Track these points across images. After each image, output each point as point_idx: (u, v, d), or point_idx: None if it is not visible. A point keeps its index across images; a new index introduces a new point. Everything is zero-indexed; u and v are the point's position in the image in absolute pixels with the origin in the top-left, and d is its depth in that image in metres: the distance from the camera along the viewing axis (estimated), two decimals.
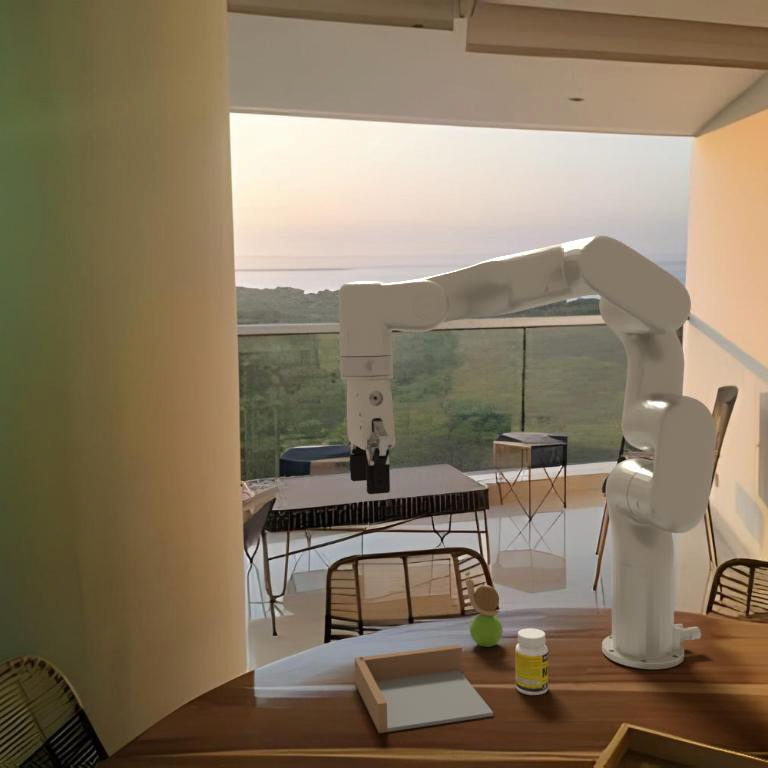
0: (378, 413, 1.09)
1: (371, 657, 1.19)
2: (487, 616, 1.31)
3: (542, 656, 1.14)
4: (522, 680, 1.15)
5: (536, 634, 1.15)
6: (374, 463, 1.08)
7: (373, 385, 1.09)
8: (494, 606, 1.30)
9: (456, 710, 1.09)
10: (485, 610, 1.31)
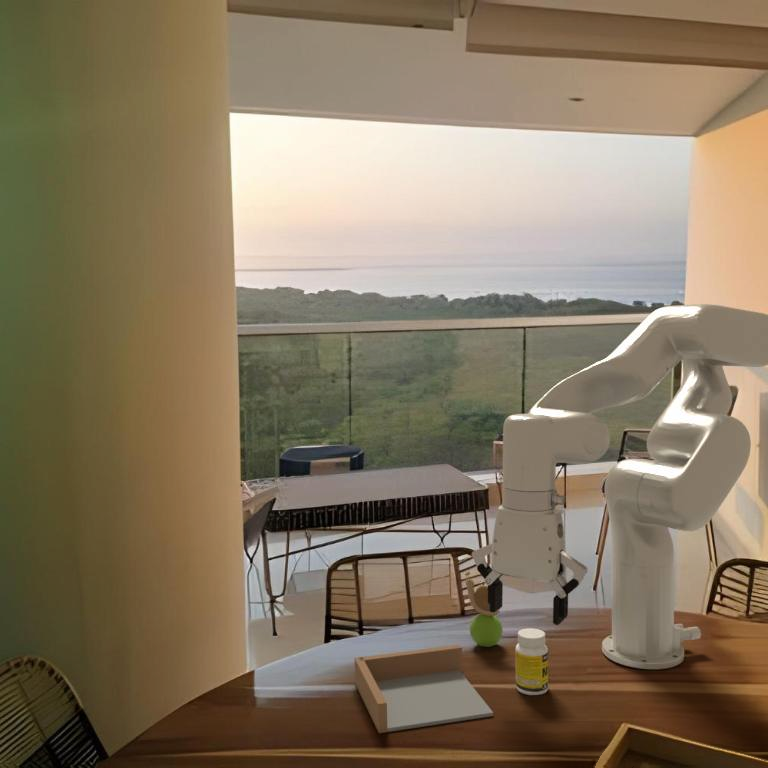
0: (561, 544, 1.12)
1: (371, 657, 1.19)
2: (487, 616, 1.31)
3: (542, 656, 1.14)
4: (522, 680, 1.15)
5: (536, 634, 1.15)
6: (566, 594, 1.11)
7: (557, 518, 1.12)
8: None
9: (456, 710, 1.09)
10: (485, 610, 1.31)
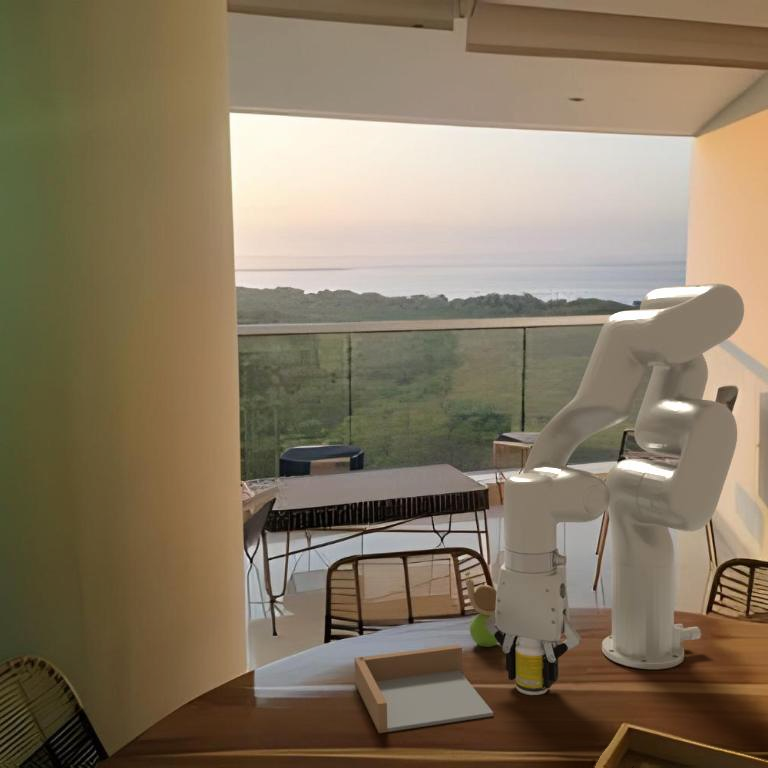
0: (564, 604, 1.13)
1: (371, 657, 1.19)
2: (487, 616, 1.31)
3: (542, 656, 1.14)
4: (522, 679, 1.15)
5: None
6: (556, 658, 1.13)
7: (560, 578, 1.13)
8: (494, 606, 1.30)
9: (456, 710, 1.09)
10: (485, 610, 1.31)
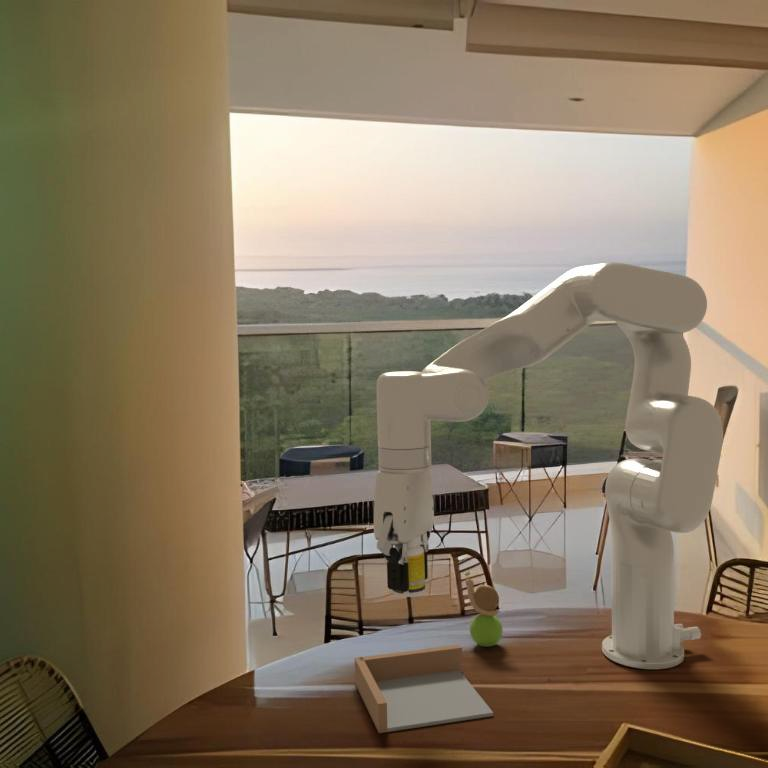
0: None
1: (371, 657, 1.19)
2: (487, 616, 1.31)
3: None
4: (420, 580, 1.12)
5: None
6: None
7: None
8: (494, 606, 1.30)
9: (456, 710, 1.09)
10: (485, 610, 1.31)
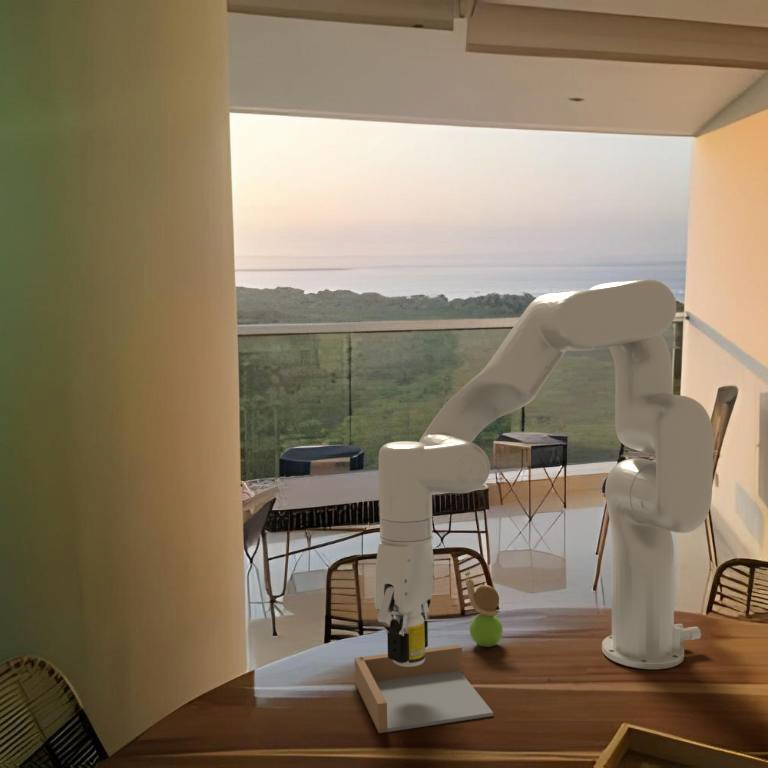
0: None
1: (371, 657, 1.19)
2: (487, 616, 1.31)
3: None
4: (420, 650, 1.12)
5: None
6: None
7: None
8: (494, 606, 1.30)
9: (456, 710, 1.09)
10: (485, 610, 1.31)
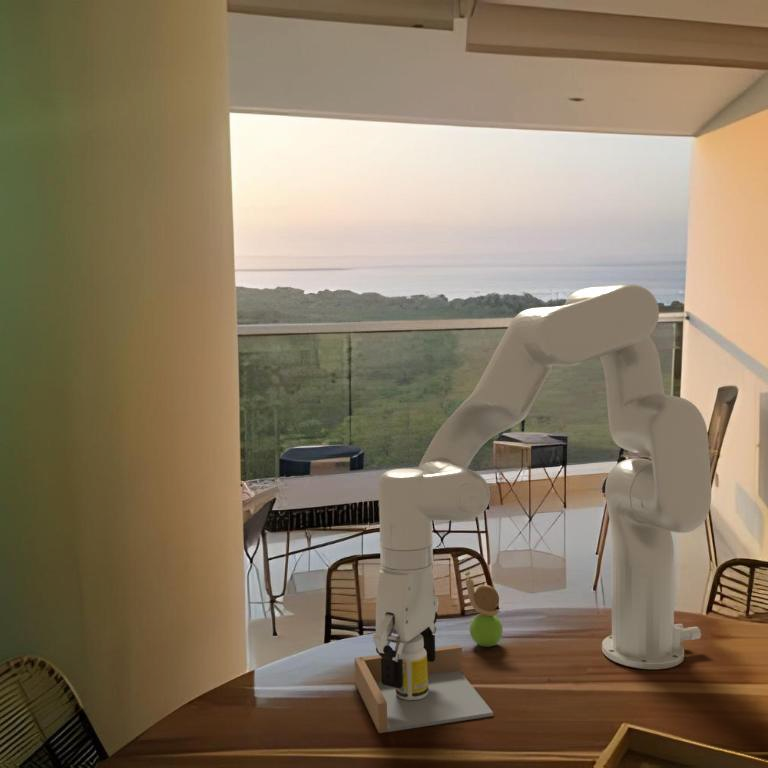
0: None
1: (371, 657, 1.19)
2: (487, 616, 1.31)
3: None
4: (424, 683, 1.13)
5: None
6: None
7: None
8: (494, 606, 1.30)
9: (456, 710, 1.09)
10: (485, 610, 1.31)
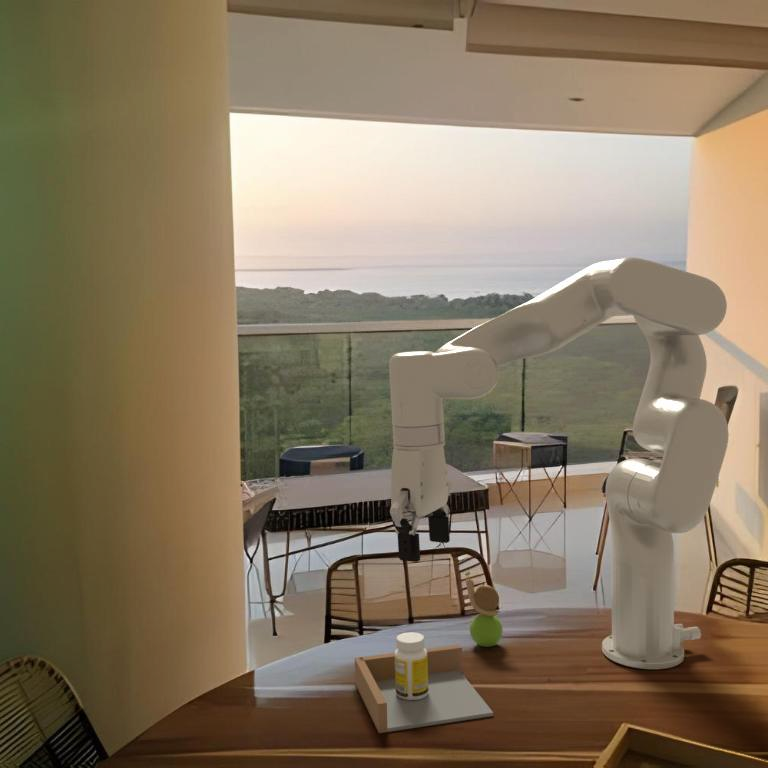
0: None
1: (371, 657, 1.19)
2: (487, 616, 1.31)
3: None
4: (424, 683, 1.13)
5: (413, 635, 1.15)
6: None
7: None
8: (494, 606, 1.30)
9: (456, 710, 1.09)
10: (485, 610, 1.31)
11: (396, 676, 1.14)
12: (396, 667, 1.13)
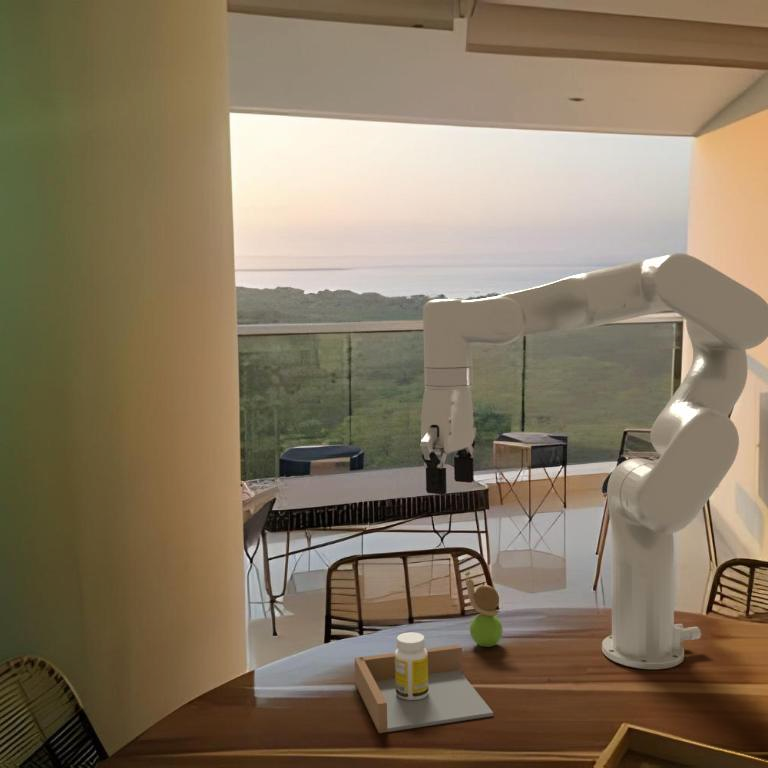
0: None
1: (371, 657, 1.19)
2: (487, 616, 1.31)
3: None
4: (424, 684, 1.13)
5: (413, 635, 1.15)
6: None
7: None
8: (494, 606, 1.30)
9: (456, 710, 1.09)
10: (485, 610, 1.31)
11: (396, 676, 1.14)
12: (396, 667, 1.13)
